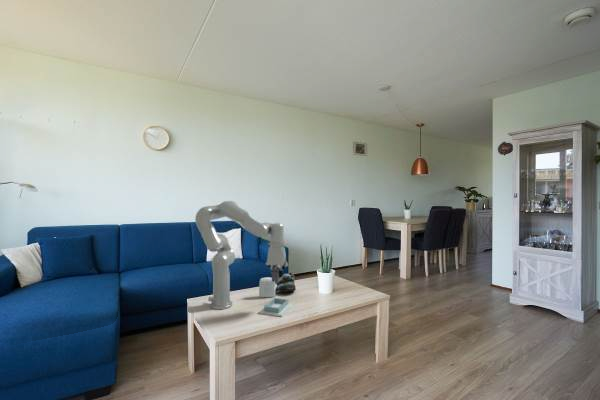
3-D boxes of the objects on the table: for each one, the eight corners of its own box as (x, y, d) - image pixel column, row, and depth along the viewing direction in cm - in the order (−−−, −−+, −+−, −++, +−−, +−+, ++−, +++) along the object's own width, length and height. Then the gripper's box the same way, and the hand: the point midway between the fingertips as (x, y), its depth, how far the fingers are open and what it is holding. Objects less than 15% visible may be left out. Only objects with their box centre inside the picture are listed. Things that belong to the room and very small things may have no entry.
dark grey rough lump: (271, 293, 192) (271, 272, 198) (281, 295, 201) (280, 275, 208) (291, 290, 186) (289, 268, 193) (299, 292, 196) (298, 272, 202)
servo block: (270, 282, 162) (270, 268, 162) (277, 277, 171) (277, 264, 171) (277, 283, 161) (276, 268, 160) (283, 278, 170) (283, 264, 170)
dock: (258, 313, 160) (258, 307, 160) (272, 302, 177) (272, 296, 177) (282, 316, 155) (282, 310, 155) (293, 305, 172) (293, 299, 172)
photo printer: (274, 295, 189) (275, 276, 189) (275, 297, 185) (275, 278, 185) (259, 295, 188) (259, 276, 188) (259, 298, 184) (259, 278, 184)
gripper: (260, 245, 165) (261, 277, 165) (288, 246, 159) (288, 279, 159) (266, 243, 172) (266, 273, 172) (292, 244, 166) (292, 276, 167)
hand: (277, 276), depth 166 cm, fingers closed on servo block, 4 cm apart
